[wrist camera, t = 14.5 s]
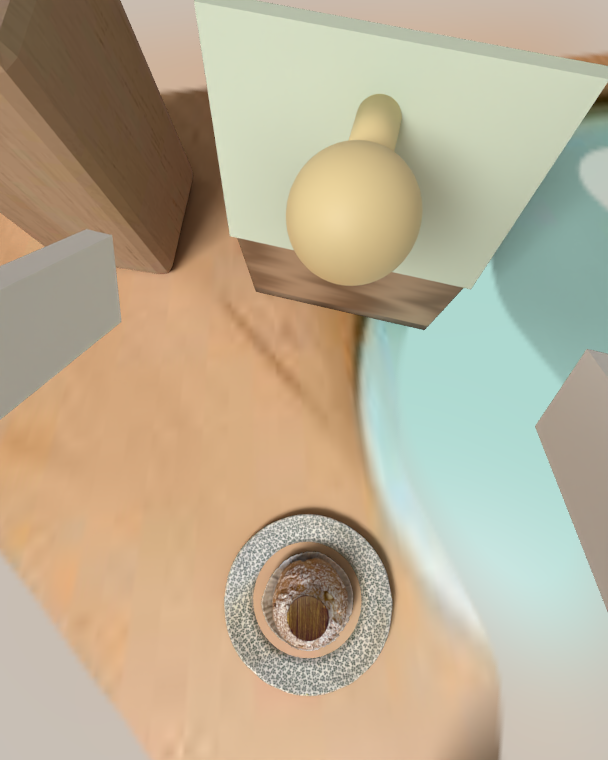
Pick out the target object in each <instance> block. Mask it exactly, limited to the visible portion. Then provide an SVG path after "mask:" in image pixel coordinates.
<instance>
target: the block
mask: <svg viewBox="0 0 608 760" xmlns="http://www.w3.org/2000/svg"><path fill="white" fill-rule="evenodd" d="M192 179H193V172H192V168H191V165H190V163H189V161H188V158H187V156H186V154H185V151H184V149H183V147H182V144H181V142H180V139H179V137H178V135H177V132H176V130H175V128H174V125H173V123H172V121H171V118H170V116H169V114H168V111H167V109H166V107H165V104H164V102H163V100H162V97H161V95H160V93H159V90H158V88H157V86H156V83H155V81H154V79H153V76H152V74H151V71H150V69H149V67H148V64H147V62H146V60H145V57H144V55H143V53H142V50H141V48H140V46H139V43H138V41H137V39H136V36H135V34H134V31H133V29H132V27H131V24H130V22H129V20H128V17H127V15H126V13H125V11H124V8H123V6H122V3H121V1H120V0H0V213H2V214H3V215H4V216H5V217H7V218H8V219H9V220H11V221H12V222H13V223H15V224H16V225H17V226H19V227H20V228H21V229H23V230H24V231H25V232H26V233H28V234H29V235H30V236H32V237H33V238H34V239H36V240H37V241H38V242H40V243H41V244H42V245H43V246H45V247H46V246H49V245H51V244H53V243H56V242H58V241H60V240H63V239H65V238H67V237H69V236H72V235H74V234H76V233H79V232H81V231H83V230H86V229H88V230H92V231H96V232H101V233H105V234H109V235H112V238H113V247H114V256H115V266H116V267H117V268H123V269H130V270H136V271H143V272H149V273H156V274H165V273H169V271H170V270H171V268H172V265H173V261H174V257H175V252H176V248H177V244H178V239H179V235H180V231H181V227H182V222H183V218H184V214H185V210H186V205H187V201H188V197H189V192H190V188H191V184H192Z"/></svg>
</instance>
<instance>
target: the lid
mask: <svg viewBox="0 0 608 760" xmlns="http://www.w3.org/2000/svg"><path fill="white" fill-rule="evenodd" d="M194 5H195V12H196V17H197V24H198V31H199V38H200V44H201V51H202V57H203V64H204V70H205V76H206V83H207V90H208V96H209V103H210V109H211V116H212V122H213V129H214V135H215V142H216V148H217V155H218V161H219V168H220V174H221V181H222V187H223V194H224V201H225V207H226V214H227V220H228V227H229V233H230V236H232V237H236V238H241V239H245V240H250V241H254V242H259V243H263V244H268V245H272V246H277V247H281V248H286V249H290V250H294V251H295V253H296V255H297V256H298V258H299V259H300V260H301V262H302V263H303V264H304V265H305V266H306V267H307V268H308V269H309V270H310V271H311V272H312V273H314V274H315V275H317V276H318V277H320V278H322V279H324V280H326V281H328V282H331V283H334V284H338V285H345V286H357V285H364V284H368V283H372V282H374V281H377V280H379V279H381V278H383V277H385V276H387V275H388V274H390V273H391V272H394V273H399V274H403V275H408V276H412V277H417V278H421V279H426V280H430V281H435V282H440V283H444V284H449V285H453V286H458V287H462V288H467V289H472V287H473V285H474V284H475V282H476V281H477V279H478V278H479V276H480V275H481V273H482V272H483V270H484V269H485V267H486V266H487V264H488V263H489V261H490V260H491V258H492V257H493V255H494V254H495V252H496V251H497V249H498V248H499V246H500V245H501V243H502V242H503V240H504V238H505V237H506V235H507V234H508V232H509V231H510V229H511V228H512V226H513V225H514V223H515V222H516V220H517V219H518V217H519V216H520V214H521V213H522V211H523V210H524V208H525V207H526V205H527V204H528V202H529V201H530V199H531V198H532V196H533V194H534V193H535V191H536V190H537V188H538V187H539V185H540V184H541V182H542V181H543V179H544V178H545V176H546V175H547V173H548V172H549V170H550V169H551V167H552V166H553V164H554V163H555V161H556V160H557V158H558V157H559V155H560V153H561V152H562V150H563V149H564V147H565V146H566V144H567V143H568V141H569V140H570V138H571V137H572V135H573V134H574V132H575V131H576V129H577V128H578V126H579V125H580V123H581V122H582V120H583V119H584V117H585V116H586V114H587V113H588V111H589V109H590V108H591V106H592V105H593V103H594V102H595V100H596V99H597V97H598V96H599V94H600V93H601V91H602V90H603V88H604V87H605V85H606V84H607V82H608V66H605V65H600V64H594V63H589V62H584V61H578V60H573V59H568V58H562V57H557V56H551V55H546V54H541V53H535V52H530V51H525V50H519V49H513V48H508V47H503V46H498V45H492V44H487V43H481V42H476V41H471V40H466V39H460V38H455V37H449V36H444V35H439V34H433V33H428V32H423V31H417V30H412V29H406V28H401V27H396V26H390V25H384V24H380V23H374V22H369V21H364V20H358V19H352V18H347V17H342V16H336V15H331V14H325V13H321V12H315V11H310V10H305V9H299V8H294V7H288V6H283V5H278V4H272V3H267V2H262V1H256V0H194Z"/></svg>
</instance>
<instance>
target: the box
mask: <svg viewBox="0 0 608 760" xmlns="http://www.w3.org/2000/svg"><path fill="white" fill-rule="evenodd" d="M237 239H238V241H239V244H240V247H241V250H242V253H243V256H244V259H245V261H246V264H247V267H248V270H249V273H250V276H251V279H252V281H253V284H254V287H255V290H256V292H260V293H264V294H269V295H273V296H278V297H282V298H286V299H291V300H295V301H299V302H304V303H308V304H313V305H317V306H321V307H326V308H330V309H334V310H339V311H343V312H348V313H352V314H356V315H361V316H365V317H369V318H374V319H378V320H383V321H387V322H391V323H396V324H400V325H404V326H409V327H413V328H418V329H422V330H425V329H426V328H427V327H428V326H429V324H431V322H432V321H433V320H434V319H435V318H436V317H437V316H438V315H439V314H440V313H441V312H442V311H443V310H444V308H445V307H446V306H447V305H448V304H449V303H450V302H451V301H452V300H453V299H454V298H455V297H456V296H457V294H458V293H459V292H460V291H461V290H462V289H463V288H462V287H458V286H453V285H449V284H444V283H440V282H435V281H430V280H426V279H421V278H417V277H412V276H408V275H403V274H399V273H394V272H391V273H390V274H388V275H387V276H385V277H383V278H381V279H379V280H377V281H374V282H372V283H368V284H364V285H357V286H345V285H338V284H334V283H331V282H328V281H326V280H324V279H322V278H320V277H318V276H317V275H315V274H314V273H312V272H311V271H310V270H309V269H308V268H307V267H306V266H305V265H304V264H303V263H302V262H301V260H300V259H299V258H298V256H297V255H296V253H295V251H294V250H290V249H286V248H281V247H277V246H272V245H268V244H263V243H259V242H254V241H250V240H245V239H241V238H237Z"/></svg>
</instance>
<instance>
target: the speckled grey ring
mask: <svg viewBox="0 0 608 760" xmlns="http://www.w3.org/2000/svg"><path fill="white" fill-rule="evenodd" d="M298 542H315V543H320V544H323V545H326V546H328V547H331V548H332V549H334V550H336V551H337V552H339V553H340V554H341V555H342V556H343V557H344V558H345V559H346V560H347V561H348V562H349V563H350V565H351V566H352V568H353V570H354V571H355V573H356V575H357V578H358V581H359V584H360V588H361V596H362V606H361V613H360V617H359V620H358V623H357V625H356V627H355V629H354V631H353V633H352V634H351V636H350V637H349V638H348V640H347V641H346V642H345V643H344V644H343V645H342V646H340V647H339V648H338V649H336V650H335V651H333V652H332V653H329V654H327V655H325V656H322V657H317V658H299V657H294V656H291V655H288V654H286V653H284V652H282V651H280V650H279V649H277V648H276V647H275V646H274V645H273V644H271V643H270V642H269V641H268V639H267V638H266V637H265V635H264V634H263V633H262V631H261V629H260V627H259V625H258V623H257V620H256V617H255V613H254V606H253V592H254V587H255V583H256V579H257V577H258V574H259V572H260V570H261V569H262V567H263V565H264V564H265V563H266V561H267V560H268V559H269V558H270V557H271V556H272V555H273V554H274V553H276V552H277V551H278V550H280V549H282V548H283V547H286V546H288V545H290V544H293V543H298ZM307 559H310V560H307ZM352 606H353V591H352V587H351V584H350V581H349V578H348V576H347V575H346V573H345V572H344V570H343V569H342V568H341V567H340V566H339V565H338V564H337V563H335V561H334V560H332V559H331V558H330V557H328V556H326V555H325V554H321V553H319V552H305V553H301V554H296V555H294V556H291V557H290V558H288V559H287V560H285V561H284V562H283V563H282V564H281V565H280V567H279V568H277V569H276V570H275V572H274V573H273V574H272V576H271V578H270V579H269V581H268V584H267V585H266V589H265V591H264V595H263V596H262V610H263V614H264V616H265V618H266V621H267V623H268V625H269V627H270V628H271V630H272V631H273V632H274V633H275V634H276V635H277V637H278V638H280V640H282V641H284V642H286V643H288V644H289V645H290V646H291V647H294V648H296V649H300V650H306V651H313V650H318V649H320V648H321V647H325V646H326V645H328V644H330V643H331V642H333V641H335V640H336V638H337V637H338V636H340V635H339V632H340V631H343V628H345V625H346V623H348V621H349V616H350V614H352ZM224 607H225V619H226V625H227V630H228V633H229V637H230V639H231V642H232V644H233V646H234V648H235V650H236V652H237V654H238V655H239V657H240V658H241V660H242V661H243V662H244V663H245V664H246V666H247V667H248V668H250V669H251V670H252V671H253V672H254V673H255V674H256V675H257V676H258V677H259V678H260V679H262V680H263V681H264V682H266V683H267V684H269V685H271V686H273V687H275V688H278V689H280V690H282V691H284V692H287V693H291V694H295V695H302V696H317V695H323V694H327V693H330V692H333V691H335V690H337V689H340V688H342V687H345V686H347V685H349V684H351V683H352V682H354V681H355V680H356V679H358V678H359V677H360V676H361V675H362V674H363V673H364V672H365V671H366V670H368V669H369V668H370V666H371V665H372V664H373V663H374V662H375V660H376V659H377V658H378V656H379V654H380V653H381V651H382V649H383V647H384V644H385V642H386V639H387V637H388V633H389V629H390V622H391V614H392V595H391V590H390V585H389V580H388V576H387V572H386V570H385V568H384V566H383V563H382V561H381V559H380V558H379V556H378V554H377V553H376V551H375V550H374V549H373V547H372V546H371V545H370V544H369V543H368V542H367V540H366V539H365V538H363V537H362V536H361V535H360V534H359V533H357V532H356V531H355V530H354V529H352V528H351V527H349V526H348V525H346V524H344V523H342V522H339V521H337V520H335V519H332V518H330V517H326V516H322V515H315V514H300V515H294V516H289V517H286V518H283V519H280V520H278V521H275V522H273V523H271V524H269V525H267V526H266V527H264V528H263V529H261V530H260V531H259V532H257V533H256V534H255V535H254V536H253V537H251V539H249V541H247V543H246V544H245V545H244V546H243V547H242V549H241V550H240V552H239V553H238V555H237V556H236V558H235V560H234V562H233V564H232V567H231V570H230V572H229V575H228V579H227V584H226V591H225V597H224Z"/></svg>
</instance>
